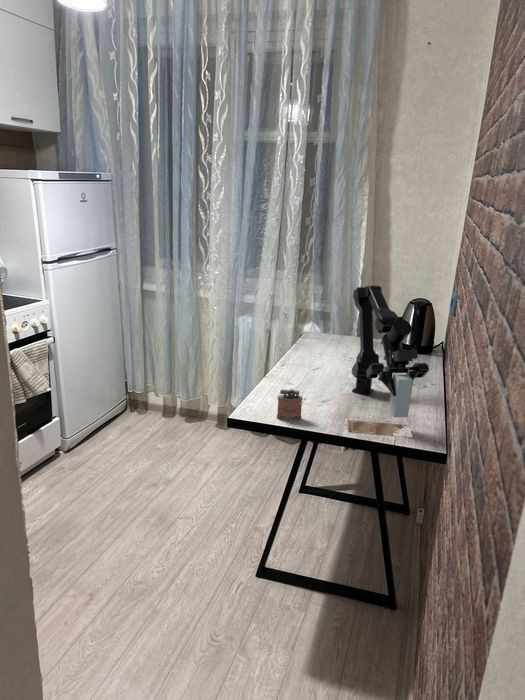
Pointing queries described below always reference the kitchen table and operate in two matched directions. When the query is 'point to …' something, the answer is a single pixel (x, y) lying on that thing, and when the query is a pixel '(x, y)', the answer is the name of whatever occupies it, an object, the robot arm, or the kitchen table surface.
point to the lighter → (289, 405)
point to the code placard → (373, 427)
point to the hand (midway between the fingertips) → (402, 395)
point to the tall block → (401, 395)
